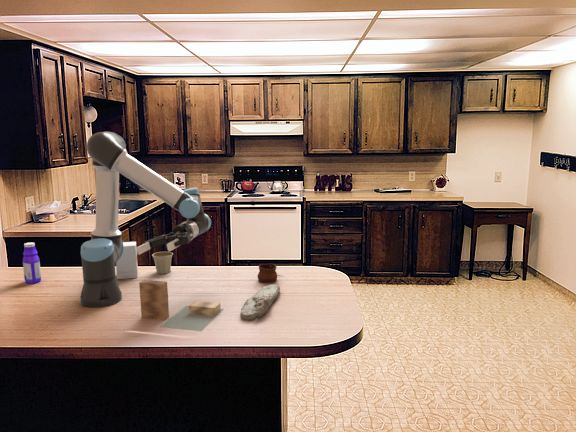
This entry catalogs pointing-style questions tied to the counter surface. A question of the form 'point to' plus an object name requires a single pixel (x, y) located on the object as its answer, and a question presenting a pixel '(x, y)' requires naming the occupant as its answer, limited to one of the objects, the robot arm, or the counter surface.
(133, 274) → the supplement box
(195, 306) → the tan wooden block
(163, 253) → the flower pot
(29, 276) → the bottle
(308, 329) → the counter surface
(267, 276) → the ceramic pot
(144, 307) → the slab
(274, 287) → the elongated rock
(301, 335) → the counter surface
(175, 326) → the mat
